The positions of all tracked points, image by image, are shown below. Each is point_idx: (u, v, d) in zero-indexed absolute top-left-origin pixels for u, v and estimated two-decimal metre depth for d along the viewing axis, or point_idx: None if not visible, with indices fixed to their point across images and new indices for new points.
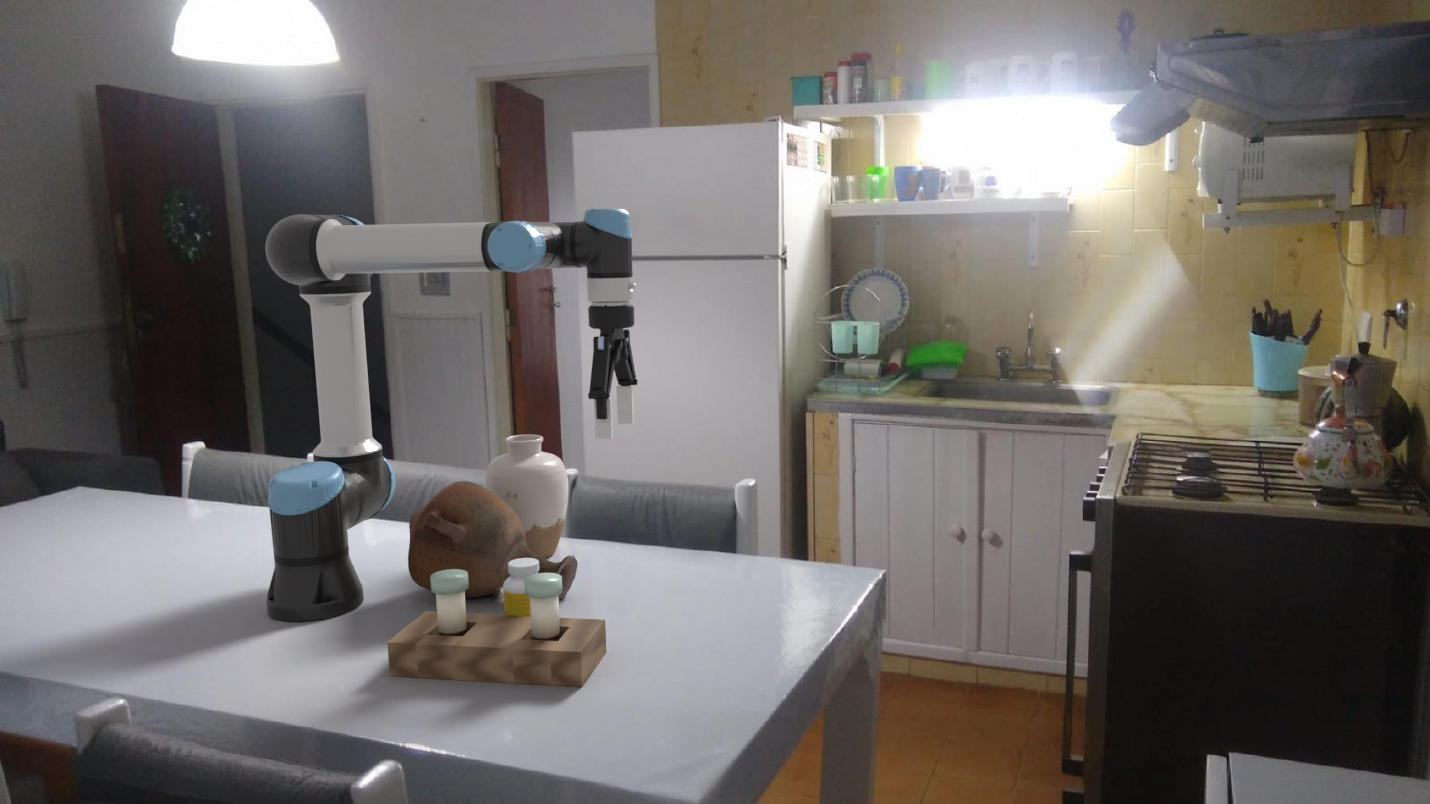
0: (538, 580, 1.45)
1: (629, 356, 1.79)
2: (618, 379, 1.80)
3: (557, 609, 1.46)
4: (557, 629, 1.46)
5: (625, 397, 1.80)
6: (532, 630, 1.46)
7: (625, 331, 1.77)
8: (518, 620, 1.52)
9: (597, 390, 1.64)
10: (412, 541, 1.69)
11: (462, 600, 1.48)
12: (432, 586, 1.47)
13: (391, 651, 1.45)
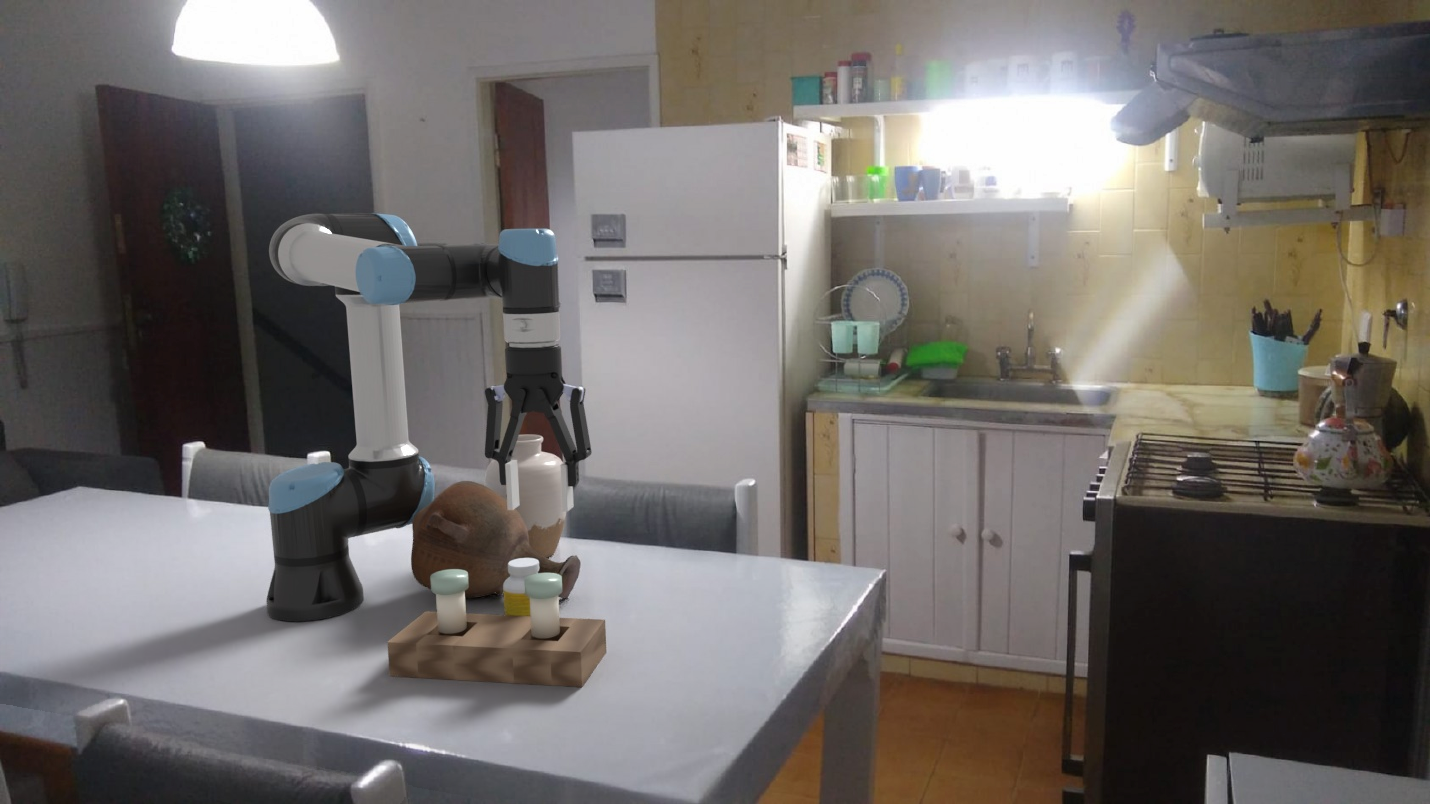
0: (538, 580, 1.45)
1: (573, 422, 1.41)
2: None
3: (557, 609, 1.46)
4: (557, 629, 1.46)
5: None
6: (532, 630, 1.46)
7: (574, 388, 1.40)
8: (518, 620, 1.52)
9: None
10: (415, 541, 1.69)
11: (462, 600, 1.48)
12: (432, 586, 1.47)
13: (391, 651, 1.45)
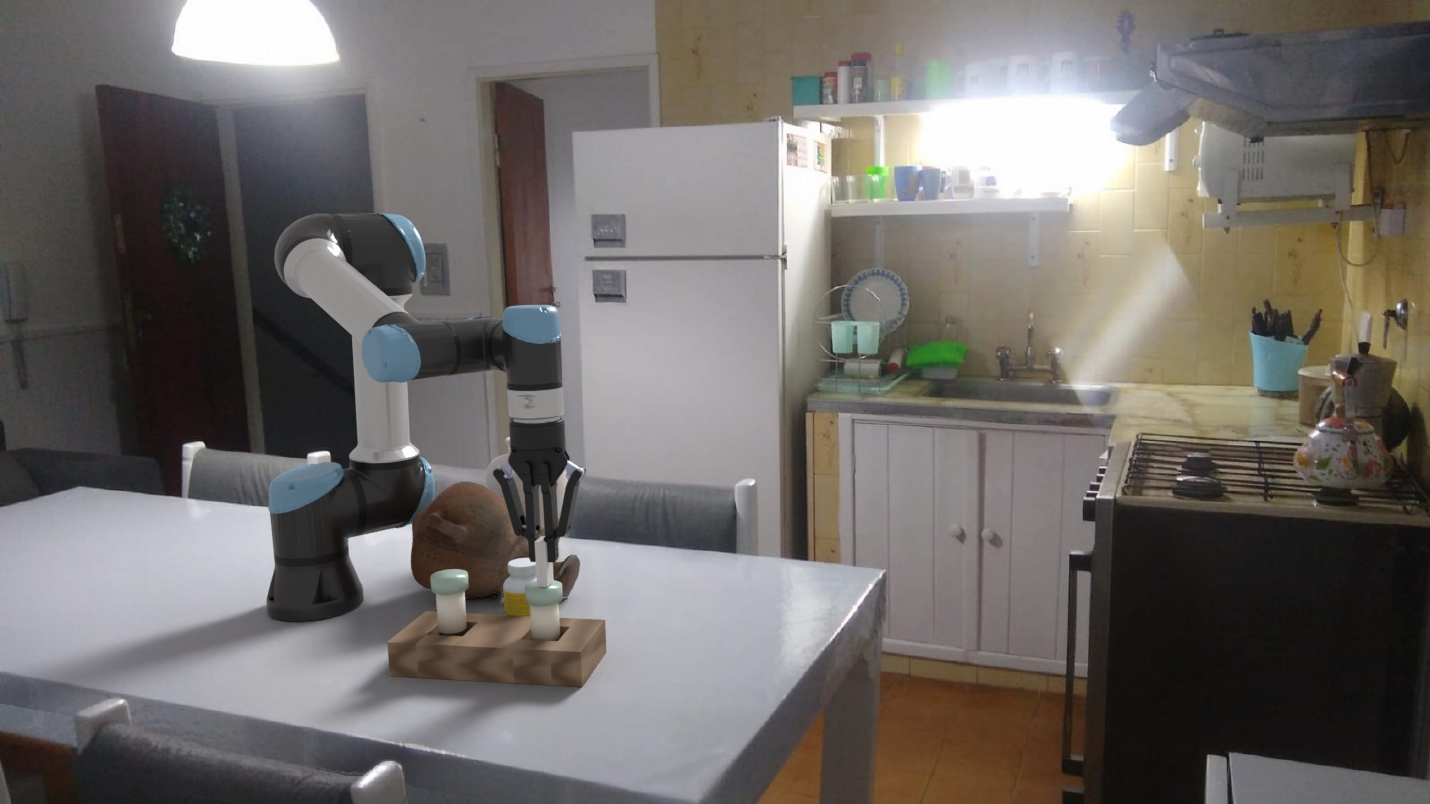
0: (539, 588, 1.45)
1: None
2: None
3: (557, 616, 1.46)
4: (557, 636, 1.46)
5: None
6: (533, 637, 1.46)
7: (576, 469, 1.42)
8: (518, 620, 1.52)
9: None
10: (414, 542, 1.69)
11: (462, 600, 1.48)
12: (432, 586, 1.47)
13: (391, 651, 1.45)
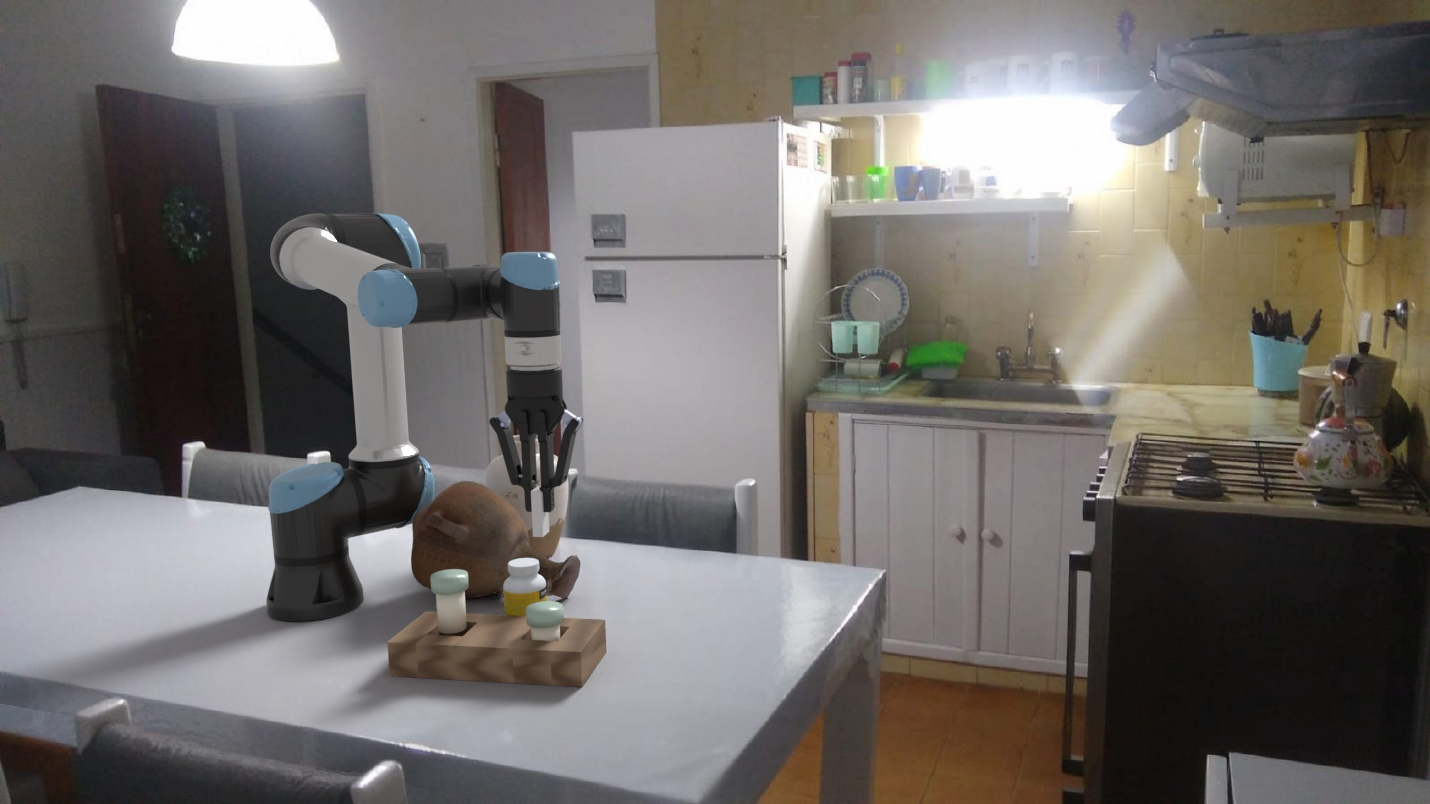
0: (540, 609, 1.46)
1: (560, 449, 1.42)
2: None
3: (558, 638, 1.47)
4: None
5: None
6: None
7: (573, 418, 1.41)
8: (518, 620, 1.52)
9: None
10: (415, 541, 1.69)
11: (462, 600, 1.48)
12: (432, 586, 1.47)
13: (391, 651, 1.45)
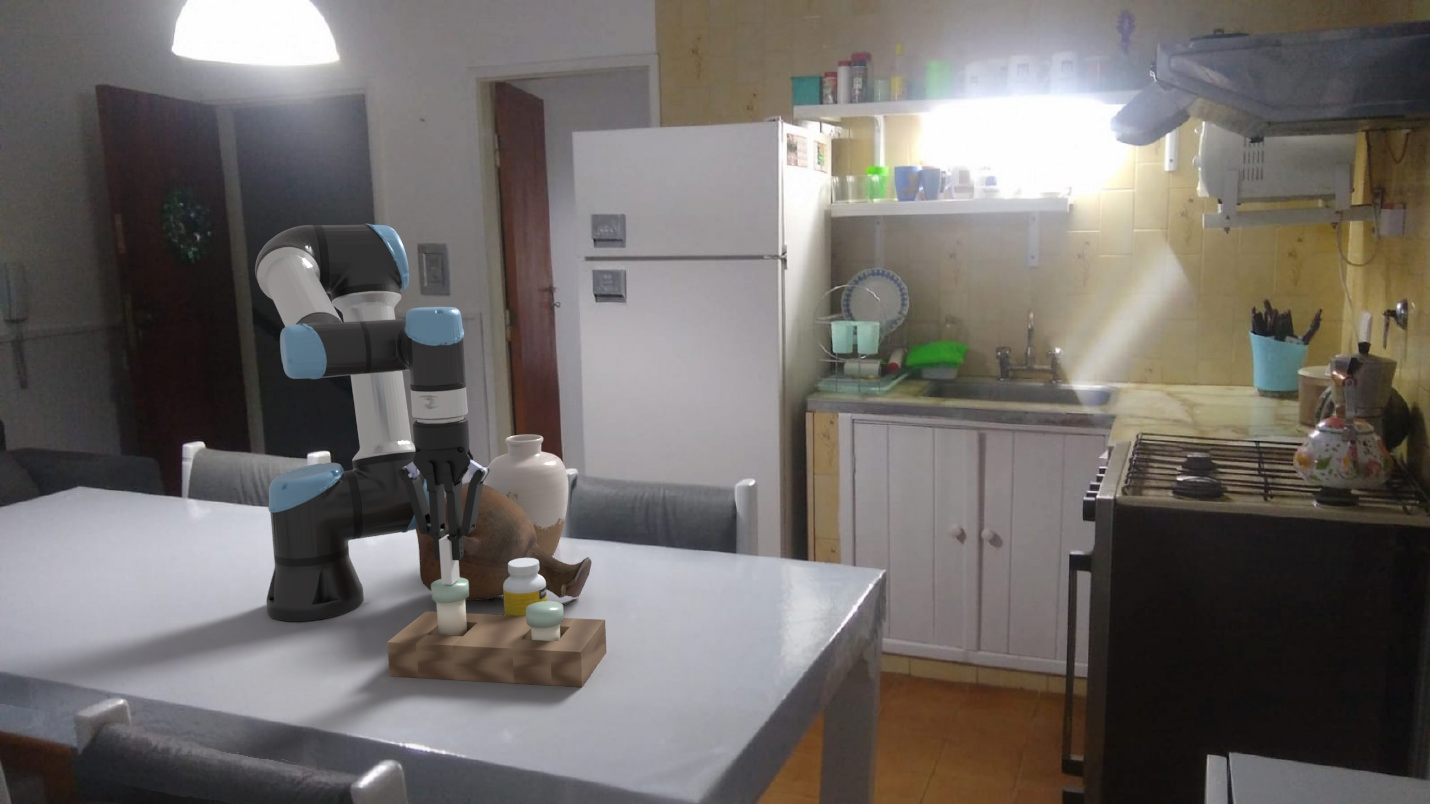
0: (540, 609, 1.46)
1: None
2: None
3: (558, 638, 1.47)
4: None
5: None
6: None
7: (478, 469, 1.44)
8: (518, 620, 1.52)
9: None
10: (424, 552, 1.66)
11: (462, 608, 1.48)
12: (433, 594, 1.47)
13: (391, 651, 1.45)
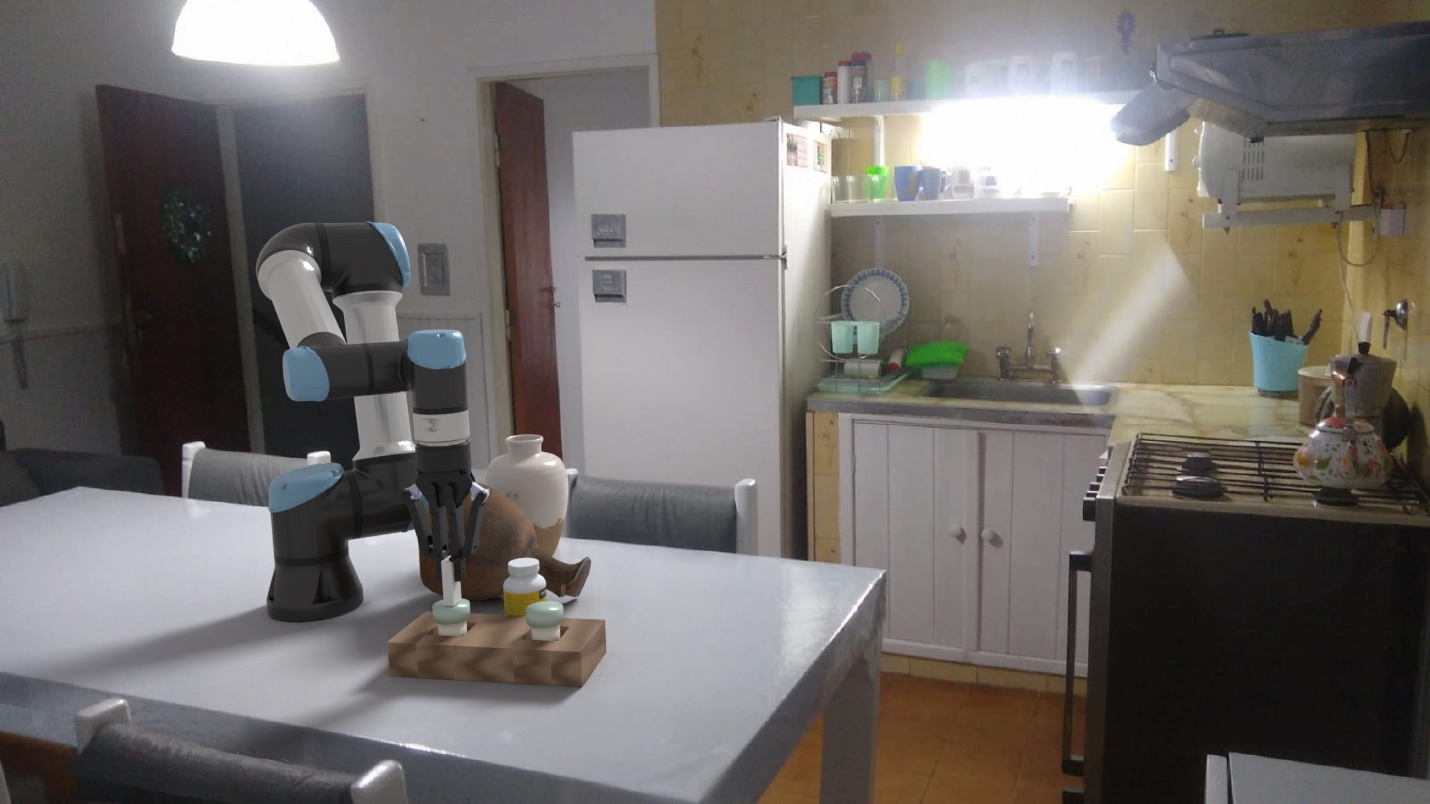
0: (540, 609, 1.46)
1: None
2: None
3: (558, 638, 1.47)
4: None
5: None
6: None
7: (480, 491, 1.45)
8: (518, 620, 1.52)
9: None
10: None
11: (464, 629, 1.49)
12: (434, 616, 1.48)
13: (391, 651, 1.45)
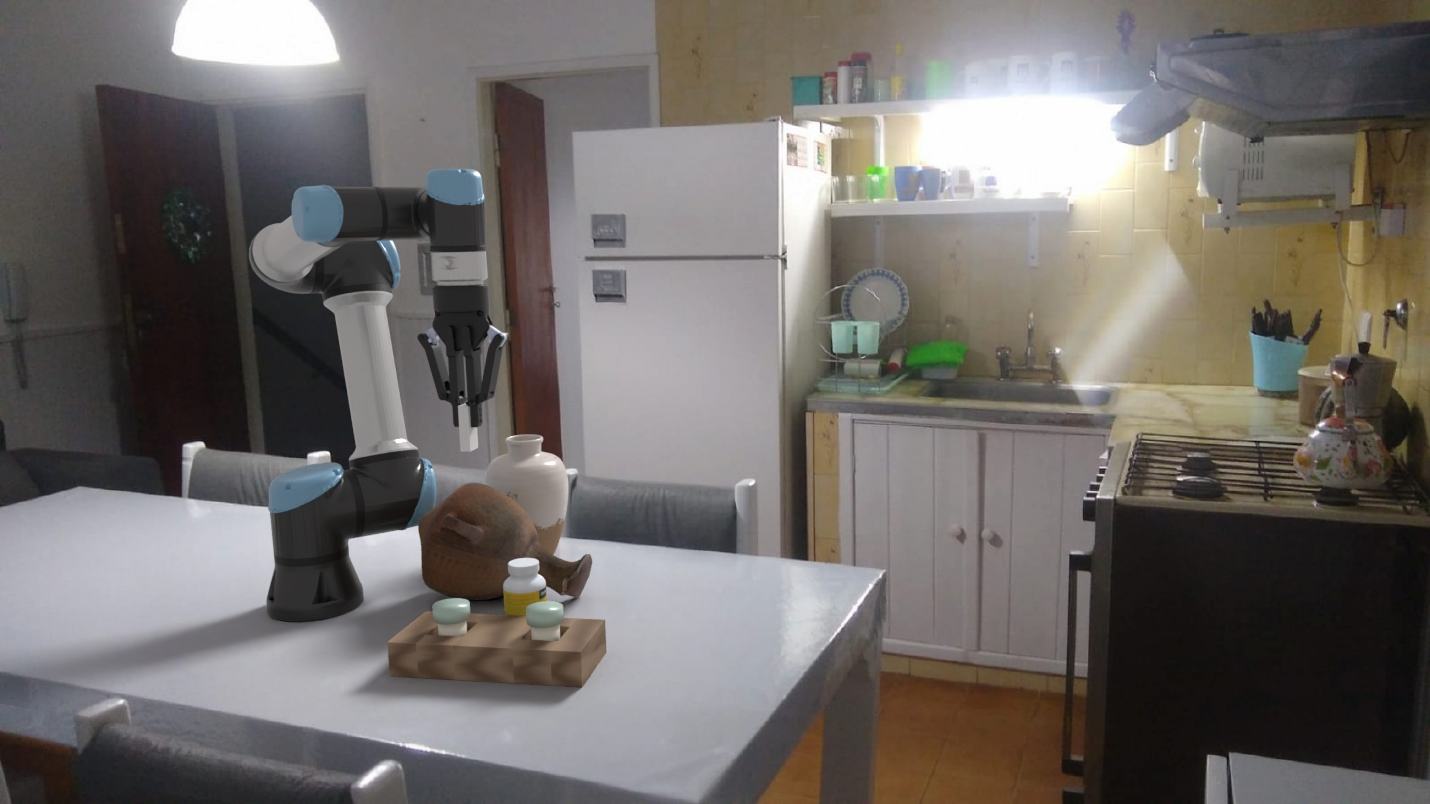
0: (540, 609, 1.46)
1: (485, 364, 1.44)
2: None
3: (558, 638, 1.47)
4: None
5: None
6: None
7: (497, 333, 1.43)
8: (518, 620, 1.52)
9: None
10: (427, 544, 1.67)
11: (464, 629, 1.49)
12: (434, 616, 1.48)
13: (391, 651, 1.45)
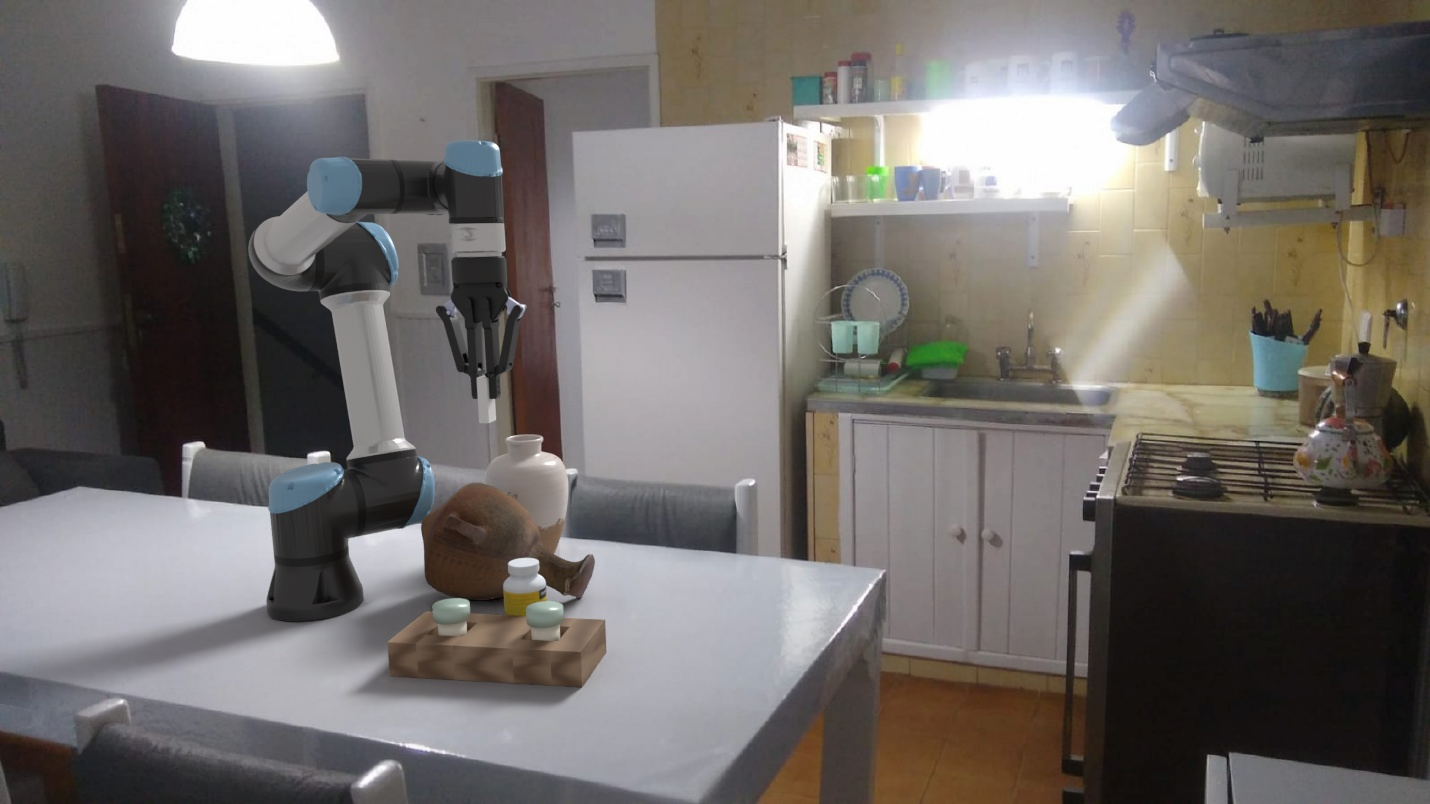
0: (540, 609, 1.46)
1: (504, 335, 1.45)
2: None
3: (558, 638, 1.47)
4: None
5: None
6: None
7: (516, 305, 1.44)
8: (518, 620, 1.52)
9: None
10: (430, 544, 1.67)
11: (464, 629, 1.49)
12: (434, 616, 1.48)
13: (391, 651, 1.45)
